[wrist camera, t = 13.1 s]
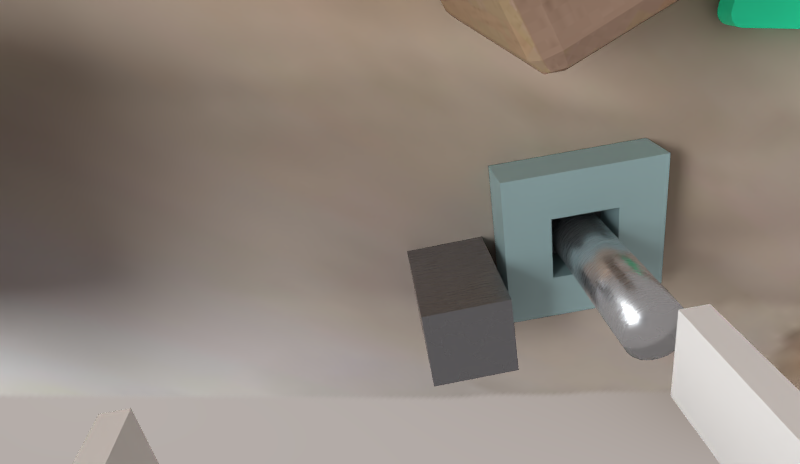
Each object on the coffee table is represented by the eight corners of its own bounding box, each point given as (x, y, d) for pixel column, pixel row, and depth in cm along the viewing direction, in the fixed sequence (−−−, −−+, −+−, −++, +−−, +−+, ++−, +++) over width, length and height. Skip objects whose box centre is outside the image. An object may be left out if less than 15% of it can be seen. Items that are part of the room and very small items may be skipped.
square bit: (419, 312, 48) (434, 386, 40) (407, 251, 45) (421, 317, 37) (489, 298, 48) (518, 369, 40) (481, 236, 45) (511, 299, 37)
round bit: (545, 250, 46) (621, 365, 33) (543, 206, 44) (623, 310, 31) (593, 241, 46) (687, 353, 33) (593, 196, 44) (693, 297, 31)
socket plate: (499, 298, 48) (510, 323, 44) (488, 165, 42) (499, 183, 39) (639, 273, 48) (660, 296, 45) (646, 137, 42) (670, 153, 39)
